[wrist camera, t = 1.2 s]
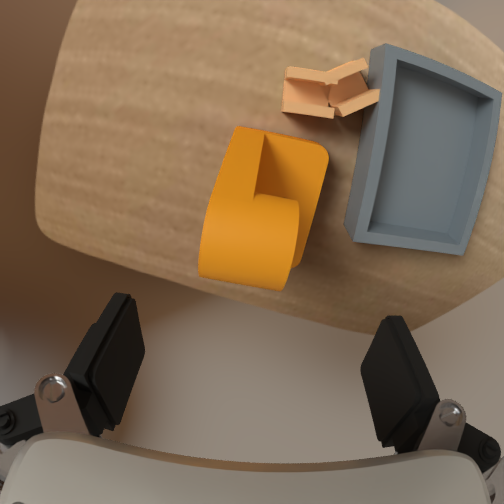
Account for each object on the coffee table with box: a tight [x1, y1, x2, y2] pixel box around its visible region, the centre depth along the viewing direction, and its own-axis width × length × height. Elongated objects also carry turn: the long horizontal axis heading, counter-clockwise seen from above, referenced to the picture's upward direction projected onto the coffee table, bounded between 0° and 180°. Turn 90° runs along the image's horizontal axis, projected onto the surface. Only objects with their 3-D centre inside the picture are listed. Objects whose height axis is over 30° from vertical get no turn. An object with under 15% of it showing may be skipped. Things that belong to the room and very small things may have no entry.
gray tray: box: [344, 43, 502, 255], centre depth 21 cm, size 12×16×4 cm
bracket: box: [198, 126, 329, 291], centre depth 21 cm, size 11×7×12 cm, turn 169°
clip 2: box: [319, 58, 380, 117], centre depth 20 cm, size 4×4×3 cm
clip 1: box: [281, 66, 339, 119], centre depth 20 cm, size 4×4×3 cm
